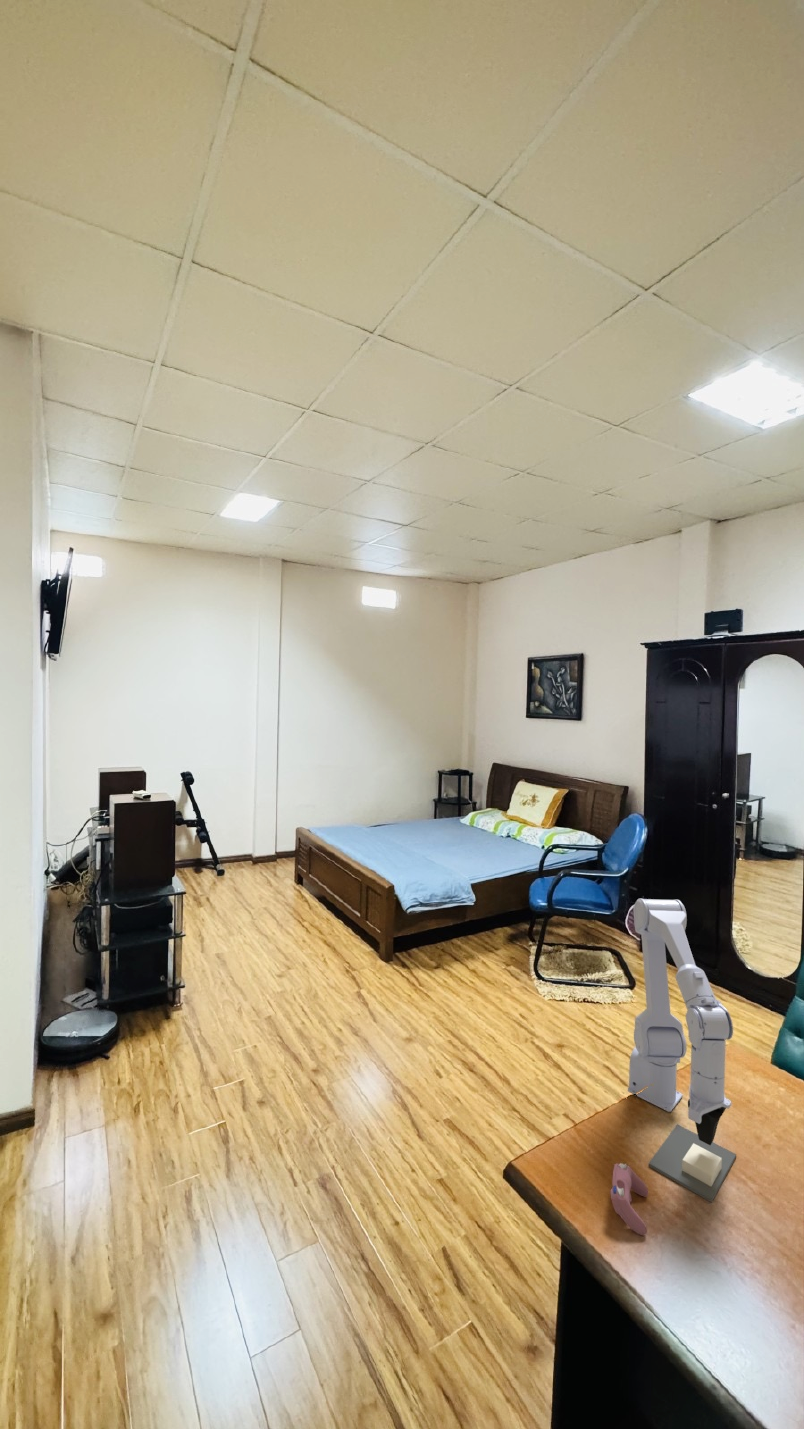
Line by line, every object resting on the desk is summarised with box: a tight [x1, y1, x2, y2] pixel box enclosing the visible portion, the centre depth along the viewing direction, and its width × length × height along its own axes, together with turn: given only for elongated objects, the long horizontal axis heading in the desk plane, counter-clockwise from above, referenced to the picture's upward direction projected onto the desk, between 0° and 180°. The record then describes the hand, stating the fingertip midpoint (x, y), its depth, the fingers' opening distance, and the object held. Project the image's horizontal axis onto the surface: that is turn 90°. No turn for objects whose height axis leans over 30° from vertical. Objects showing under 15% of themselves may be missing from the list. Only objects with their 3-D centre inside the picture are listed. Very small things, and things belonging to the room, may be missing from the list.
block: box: [682, 1143, 722, 1186], centre depth 106 cm, size 5×2×6 cm
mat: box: [648, 1123, 737, 1203], centre depth 108 cm, size 11×15×1 cm
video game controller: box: [610, 1162, 649, 1236], centre depth 98 cm, size 10×5×7 cm, turn 155°
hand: (705, 1140), depth 107 cm, fingers closed
